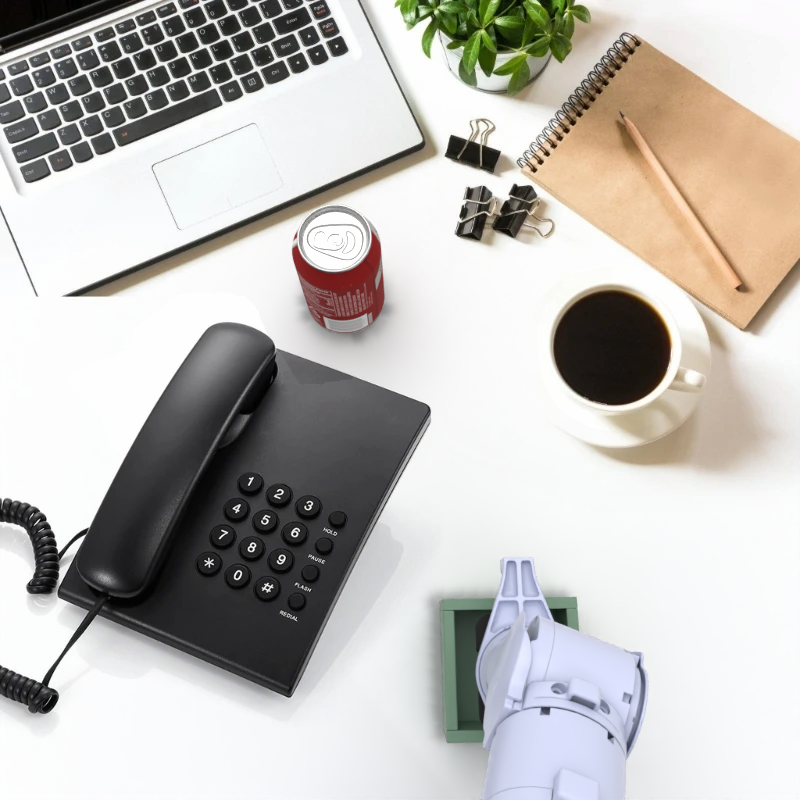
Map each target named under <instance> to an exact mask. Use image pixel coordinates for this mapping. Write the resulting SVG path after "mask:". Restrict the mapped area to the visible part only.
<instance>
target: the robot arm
mask: <svg viewBox="0 0 800 800" xmlns="http://www.w3.org/2000/svg"><path fill="white" fill-rule="evenodd" d="M499 569H500V574H501V578H500V582H499V586H498V589H497V592H496V596H495V598H496V599H495V602H494V605H493V609H492V612H491V614H486V615H483V616H481V617H480V618H479V619H478V620H477V623H476V627H475V631H476V651H477V652H479V654H478V658H477V662H476V681H477V686H478V689H479V691H478V710H479V719H480V722H481V723H482V725H483V729H484V732H485V734H484V741H483V743H482V748H483V749H484V750H487V751H489V753H488V754H489V755H488V759H487V764H486V768H485V773H484V779H483V780H484V781H483V784H482V788H481V794H480V799H479V800H626V790H627V789H626V785H627V784H626V783H627V760H628V758H629V757H630V755H631V753H632V751H633V749H634V748H635V745H636V743H637V741H638V739H639V735H640V733H641V729H642V726H643V722H644V719H645V716H646V712H647V711H646V710H647V707H648V700H649V691H650V690H649V689H650V687H649V686H650V685H649V683H650V681H649V675H648V672H647V670H646V669H645V667H644V661H645V655H644V653H643V652H642V651H632V650H629V649H626V648H623V647H620V646H618V645H615V644H613V643H611V642H608V641H605V640H603V639H600V638H597V637H594V636H593V635H590V634H587V633H585V632H582V631H580V630H579V631H577V630H575V629H572V628H570V627H567V626H564V625H562V624H559V623H558V621H557V620H556V618H555V617H553V616H552V615H551V612H550V610H549V608H548V605H547V603H546V601H545V598H544V597H545V596H544V593H543V591H542V589H541V587H540V584H539V580H538V578H537V577H538V576H537V573H536V568H535V559H534V557H533V556H519V557H518V556H515V557H513V556H511V557H502V558H501V559H500V560H499Z"/></svg>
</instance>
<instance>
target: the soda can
mask: <svg viewBox="0 0 800 800" xmlns="http://www.w3.org/2000/svg"><path fill="white" fill-rule="evenodd" d="M291 257H292V261H293V264H294V267H295V271H296V274H297V278H298V280H299V283H300V286H301V289H302V293H303V296H304V300H305V302H306V304H307V309H308V311H309V313H310V315H311V317H312V318H313V320H314V321H315V322H316V323H317V324H318V325H319V326H320V327H321V328H323V329H325V330H327V331H329V332H332V333H335V334H340V335H341V334H342V335H347V334H348V335H349V334H356V333H359V332H361V331H363V330H365V329H367V328H368V327H370V326H371V325H372V324H374V323H375V321H376V320H377V319H378V318H379V317H380V315H381V313H382V311H383V308H384V304H385V298H386V297H385V296H386V295H385V283H384V281H385V280H384V269H383V267H384V266H383V254H382V243H381V238H380V235H379V233H378V230H377V229H376V227H375V226H374V225H373V223H372V222H371V221H370V220H369V219H368V218H367V217H366V216H364V215H363V214H362V213H361V212H360V211H358V210H356V208H353V207H352V206H348V205H345V204H340V203H330V204H325V205H322V206H319V207H317V208H315V209H313V210H312V211H310V213H308V214H307V215H306V216H305V217H304V218H303V220H302V221H301V223H300V225H299V227H298V229H297V230H296V232H295V234H294V236H293V240H292V244H291Z"/></svg>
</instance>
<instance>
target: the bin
mask: <svg viewBox="0 0 800 800" xmlns="http://www.w3.org/2000/svg"><path fill="white" fill-rule="evenodd" d="M544 598H545V601H546V603H547V605H548V608H549V610H550V612H551V615H552V616H553V617H555V618H556V620H557V621H558V623H559V624H562V625H564V626H567V627H570V628H572V629H575V630H577V631H580V624H579V611H578V598H577V596H547V597H545V596H544ZM495 599H496V597H484V598H483V597H482V598H481V597H480V598H479V597H477V598H475V597H474V598H442V599H441V600H439V628H440V629H439V633H440V637H439V638H440V668H441V669H440V671H441V673H440V675H441V702H442V703H441V708H442V709H441V711H442V712H441V713H442V732H443V735H444V739H445V741H446V743H447V744H469V743H470V744H473V743H475V744H476V743H477V744H479V743H482V744H483V741H484V734H485V732H484V729H483V725H482V723H481V722H480V719H479V710H478V691H479V689H478V686H477V681H476V662H477V658H478V654H479V652H477V651H476V631H475V627H476V623H477V620H478V619H479V618H480V617H481V616H483V615H486V614H491V612H492V609H493V605H494V602H495Z"/></svg>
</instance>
